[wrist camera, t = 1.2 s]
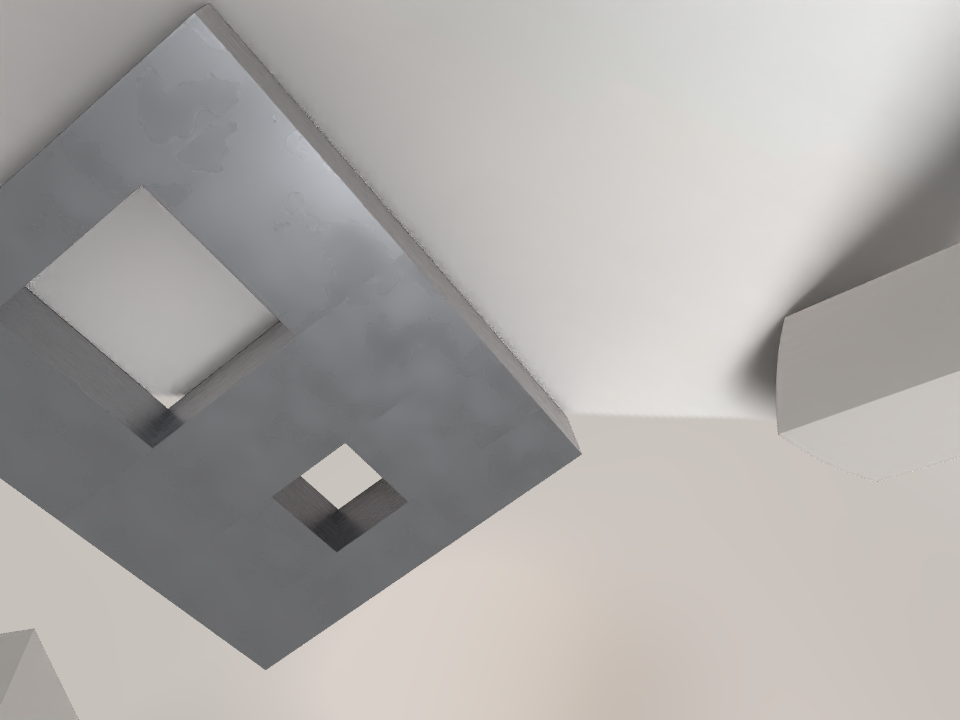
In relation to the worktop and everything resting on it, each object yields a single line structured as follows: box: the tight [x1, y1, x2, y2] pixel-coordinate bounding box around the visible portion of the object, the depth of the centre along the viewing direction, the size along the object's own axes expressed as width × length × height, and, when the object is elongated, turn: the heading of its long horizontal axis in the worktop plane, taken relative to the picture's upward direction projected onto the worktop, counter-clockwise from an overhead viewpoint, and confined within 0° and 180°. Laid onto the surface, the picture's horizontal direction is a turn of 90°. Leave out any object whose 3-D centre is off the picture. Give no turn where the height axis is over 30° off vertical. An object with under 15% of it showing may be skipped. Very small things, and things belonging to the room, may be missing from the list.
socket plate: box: [0, 3, 582, 670], centre depth 34 cm, size 22×18×3 cm
